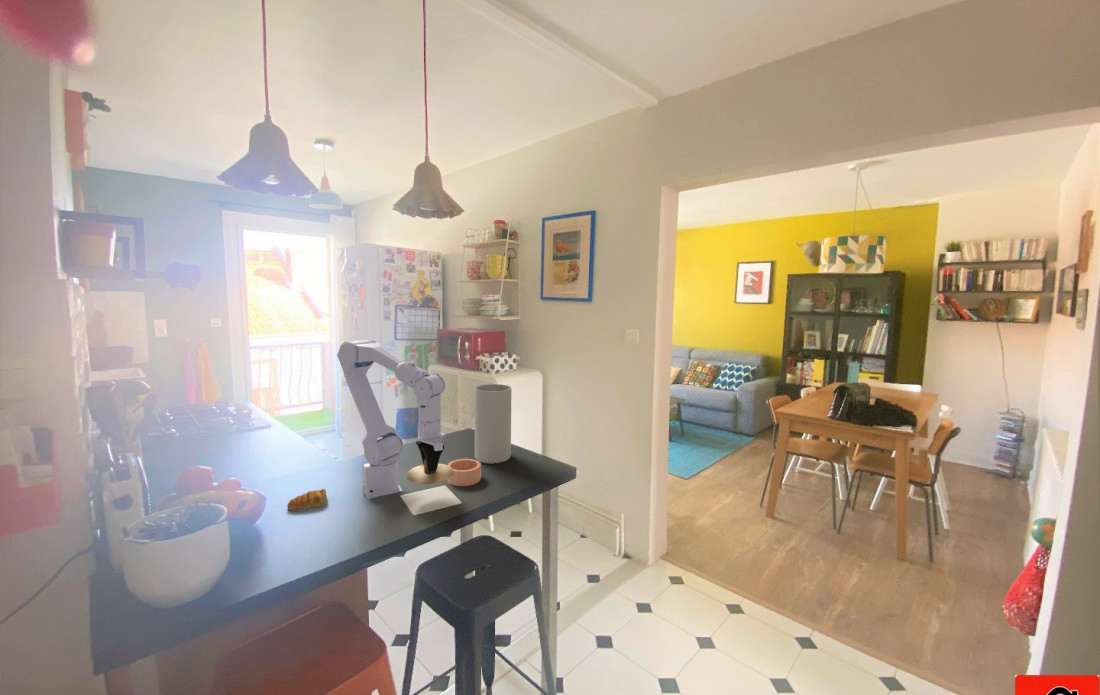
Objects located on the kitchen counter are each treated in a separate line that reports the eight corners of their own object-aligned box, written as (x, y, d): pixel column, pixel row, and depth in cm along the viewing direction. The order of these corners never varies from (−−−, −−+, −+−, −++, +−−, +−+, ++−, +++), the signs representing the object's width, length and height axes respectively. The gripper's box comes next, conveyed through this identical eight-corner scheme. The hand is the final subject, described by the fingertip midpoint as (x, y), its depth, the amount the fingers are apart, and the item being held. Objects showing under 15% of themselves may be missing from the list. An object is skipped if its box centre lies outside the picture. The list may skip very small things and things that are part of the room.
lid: (414, 487, 110) (414, 471, 110) (401, 471, 120) (401, 456, 120) (459, 477, 117) (459, 462, 117) (443, 463, 127) (443, 448, 126)
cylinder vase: (517, 459, 152) (518, 388, 149) (486, 467, 144) (486, 393, 141) (498, 449, 162) (499, 382, 159) (468, 456, 154) (468, 386, 151)
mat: (413, 517, 111) (413, 515, 110) (400, 497, 121) (400, 495, 121) (461, 505, 118) (462, 502, 118) (445, 487, 128) (445, 485, 128)
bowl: (454, 490, 126) (454, 474, 126) (442, 478, 135) (442, 462, 134) (486, 483, 132) (486, 467, 131) (472, 471, 140) (472, 456, 140)
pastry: (288, 516, 110) (287, 501, 110) (286, 505, 116) (286, 491, 116) (329, 507, 116) (328, 493, 115) (326, 497, 121) (325, 484, 121)
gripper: (453, 424, 113) (453, 474, 115) (435, 411, 125) (435, 457, 127) (426, 428, 109) (427, 480, 111) (410, 414, 121) (411, 461, 123)
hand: (430, 468), depth 118 cm, fingers closed on lid, 3 cm apart
